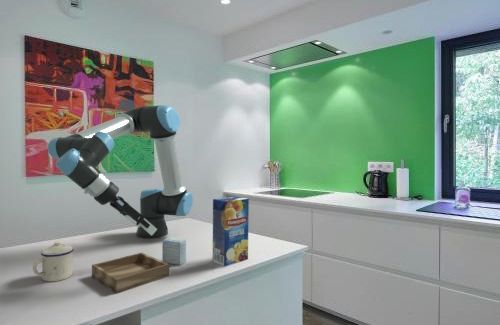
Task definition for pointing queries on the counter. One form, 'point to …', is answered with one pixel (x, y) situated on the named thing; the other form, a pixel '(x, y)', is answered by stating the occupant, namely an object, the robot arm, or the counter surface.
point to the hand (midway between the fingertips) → (147, 228)
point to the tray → (129, 272)
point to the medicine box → (174, 251)
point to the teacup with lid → (56, 262)
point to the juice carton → (230, 230)
